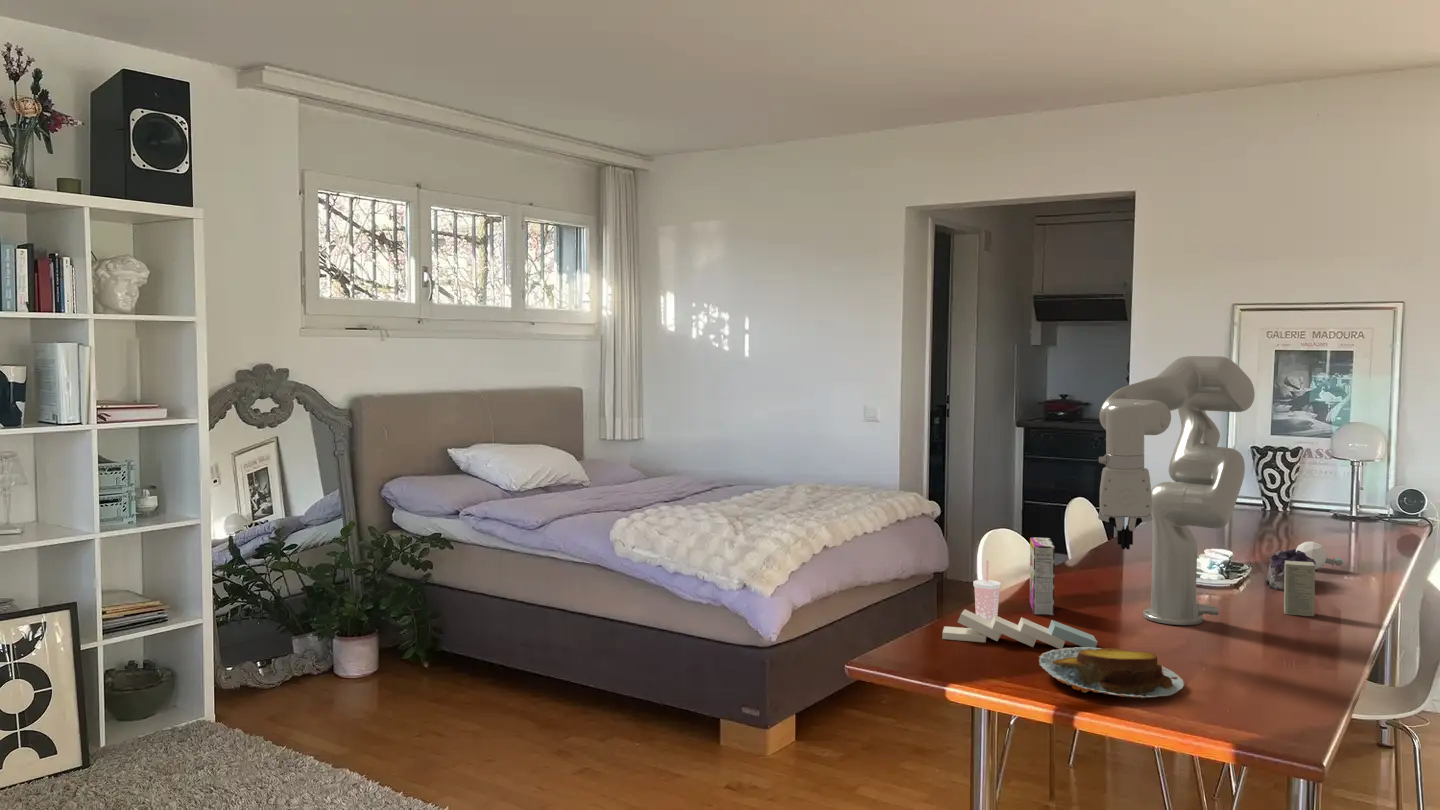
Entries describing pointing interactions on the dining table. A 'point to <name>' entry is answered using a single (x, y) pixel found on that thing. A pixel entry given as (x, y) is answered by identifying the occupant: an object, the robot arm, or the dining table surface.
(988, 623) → the domino
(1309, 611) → the skincare box
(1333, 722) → the dining table surface
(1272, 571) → the geode
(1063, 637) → the domino
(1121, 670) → the food on plate
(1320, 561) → the perfume bottle
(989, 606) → the beverage cup
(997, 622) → the domino
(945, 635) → the domino
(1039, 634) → the domino
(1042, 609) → the candy bar box
